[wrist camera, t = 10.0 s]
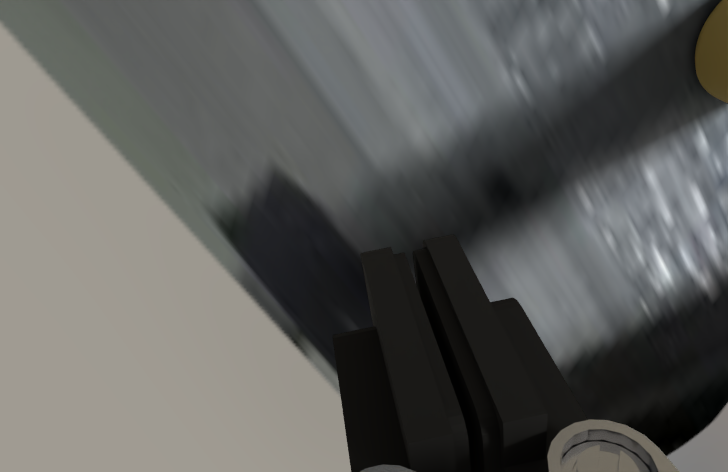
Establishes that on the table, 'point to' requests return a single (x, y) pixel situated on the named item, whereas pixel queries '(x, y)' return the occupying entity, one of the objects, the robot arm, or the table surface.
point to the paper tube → (714, 53)
